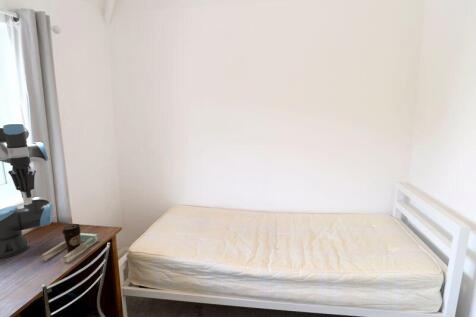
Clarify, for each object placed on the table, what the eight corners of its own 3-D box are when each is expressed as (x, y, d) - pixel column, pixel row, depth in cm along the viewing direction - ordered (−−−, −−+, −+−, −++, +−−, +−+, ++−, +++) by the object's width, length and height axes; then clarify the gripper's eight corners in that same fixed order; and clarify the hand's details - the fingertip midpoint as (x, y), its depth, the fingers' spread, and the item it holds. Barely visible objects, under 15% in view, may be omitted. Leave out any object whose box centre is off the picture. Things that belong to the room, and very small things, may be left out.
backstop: (72, 240, 155) (71, 234, 155) (75, 239, 157) (74, 232, 157) (95, 242, 153) (94, 235, 152) (97, 240, 155) (97, 234, 154)
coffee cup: (87, 245, 150) (84, 223, 147) (76, 253, 142) (72, 230, 139) (73, 244, 151) (69, 222, 149) (61, 252, 143) (57, 229, 141)
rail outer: (64, 262, 134) (63, 256, 133) (92, 242, 153) (91, 237, 153) (68, 262, 134) (67, 257, 133) (95, 242, 153) (94, 237, 152)
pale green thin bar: (42, 260, 136) (41, 255, 135) (72, 240, 155) (72, 236, 155) (46, 260, 136) (45, 255, 135) (75, 241, 155) (75, 236, 154)
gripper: (-1, 157, 125) (9, 206, 129) (23, 157, 122) (32, 207, 127) (15, 154, 132) (23, 200, 137) (38, 154, 130) (46, 201, 134)
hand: (28, 203), depth 132 cm, fingers closed
